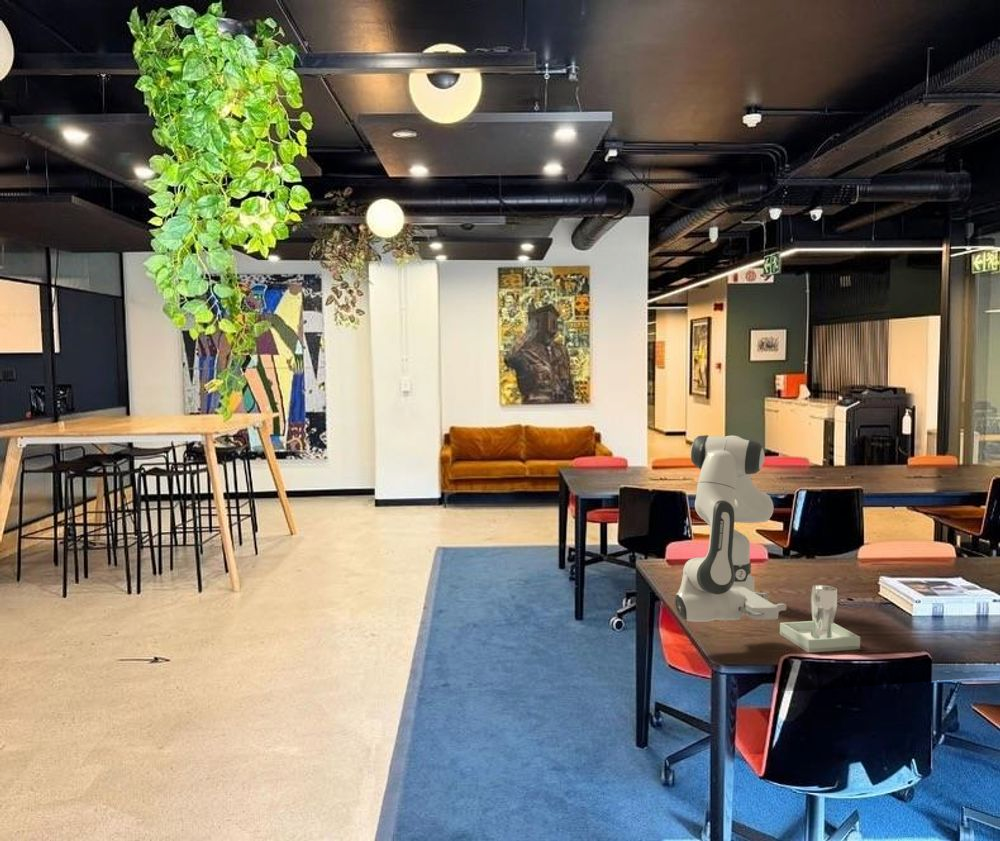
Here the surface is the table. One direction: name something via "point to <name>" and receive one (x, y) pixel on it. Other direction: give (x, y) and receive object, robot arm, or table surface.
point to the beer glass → (823, 610)
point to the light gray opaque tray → (802, 632)
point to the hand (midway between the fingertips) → (776, 601)
